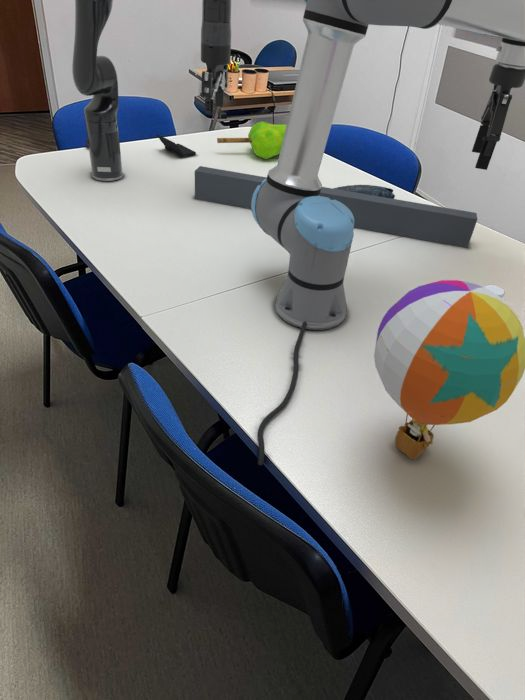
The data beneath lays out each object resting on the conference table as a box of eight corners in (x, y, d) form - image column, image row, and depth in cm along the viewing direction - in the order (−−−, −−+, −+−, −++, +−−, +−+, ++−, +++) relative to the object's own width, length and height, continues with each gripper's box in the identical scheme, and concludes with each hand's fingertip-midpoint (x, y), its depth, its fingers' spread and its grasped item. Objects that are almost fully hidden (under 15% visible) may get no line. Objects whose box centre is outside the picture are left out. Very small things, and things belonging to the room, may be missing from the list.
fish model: (393, 208, 159) (397, 192, 156) (325, 201, 160) (327, 185, 157) (391, 200, 165) (395, 185, 161) (325, 193, 165) (328, 178, 162)
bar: (466, 240, 146) (476, 212, 141) (467, 247, 142) (477, 219, 137) (199, 193, 158) (199, 165, 153) (194, 198, 155) (194, 170, 150)
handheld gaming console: (200, 148, 184) (184, 127, 176) (190, 164, 183) (174, 144, 175) (177, 144, 191) (162, 124, 182) (167, 160, 189) (151, 141, 181)
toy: (324, 440, 84) (359, 279, 65) (398, 390, 94) (447, 240, 76) (424, 525, 73) (502, 362, 54) (495, 458, 83) (581, 302, 65)
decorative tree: (214, 118, 187) (294, 118, 193) (214, 147, 194) (292, 146, 199) (220, 132, 174) (307, 132, 179) (220, 164, 180) (304, 162, 185)
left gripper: (211, 35, 136) (209, 102, 146) (191, 43, 125) (191, 114, 135) (238, 39, 135) (235, 106, 145) (221, 47, 124) (219, 119, 134)
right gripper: (489, 55, 128) (461, 144, 141) (499, 72, 108) (466, 173, 121) (521, 59, 127) (489, 148, 140) (537, 77, 107) (499, 178, 120)
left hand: (214, 110), depth 140 cm, fingers open, 8 cm apart
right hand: (478, 160), depth 131 cm, fingers open, 13 cm apart
